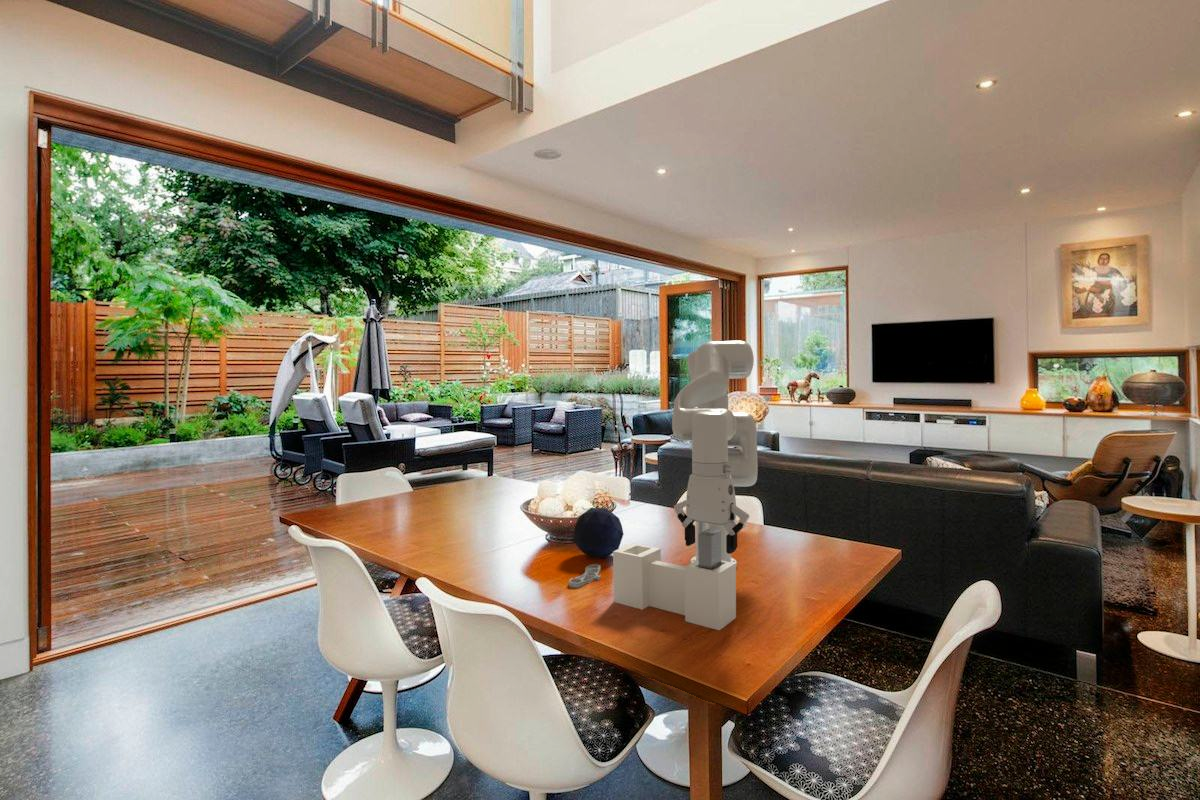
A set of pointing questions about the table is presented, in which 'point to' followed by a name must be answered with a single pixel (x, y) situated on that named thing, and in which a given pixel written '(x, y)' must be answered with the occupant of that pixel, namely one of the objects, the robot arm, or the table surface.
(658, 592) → the double socket connector
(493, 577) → the table surface
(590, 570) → the bracket
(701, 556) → the gray rectangular block
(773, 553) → the table surface
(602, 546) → the decorative orb
